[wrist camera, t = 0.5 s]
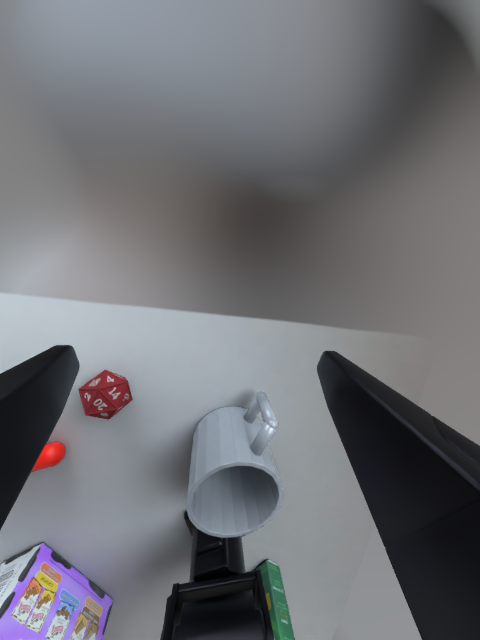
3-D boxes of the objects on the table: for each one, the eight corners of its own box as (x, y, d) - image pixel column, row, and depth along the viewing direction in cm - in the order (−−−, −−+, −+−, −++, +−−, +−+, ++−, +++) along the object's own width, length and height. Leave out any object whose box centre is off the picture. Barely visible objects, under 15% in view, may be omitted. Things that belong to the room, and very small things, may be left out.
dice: (147, 384, 22) (133, 410, 18) (110, 408, 22) (89, 438, 18) (122, 356, 21) (102, 376, 17) (83, 381, 21) (55, 406, 17)
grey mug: (243, 473, 26) (255, 545, 19) (181, 454, 24) (170, 526, 18) (290, 396, 24) (321, 446, 18) (227, 369, 23) (234, 414, 16)
